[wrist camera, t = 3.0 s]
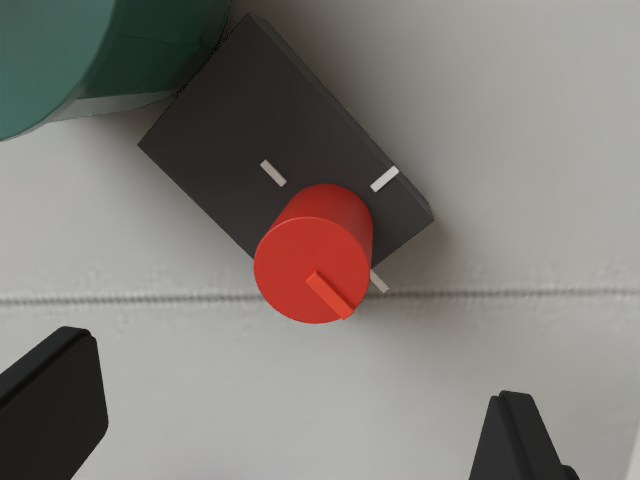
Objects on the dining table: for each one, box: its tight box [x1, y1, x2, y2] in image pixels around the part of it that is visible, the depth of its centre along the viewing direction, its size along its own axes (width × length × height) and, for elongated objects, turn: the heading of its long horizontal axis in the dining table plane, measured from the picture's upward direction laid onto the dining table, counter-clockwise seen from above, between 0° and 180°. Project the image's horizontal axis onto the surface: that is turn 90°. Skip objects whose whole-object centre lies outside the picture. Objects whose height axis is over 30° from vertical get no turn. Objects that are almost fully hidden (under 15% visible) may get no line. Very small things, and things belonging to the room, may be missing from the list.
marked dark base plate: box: [138, 13, 434, 293], centre depth 22 cm, size 13×9×3 cm, turn 44°
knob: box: [254, 184, 373, 324], centre depth 19 cm, size 4×4×5 cm
